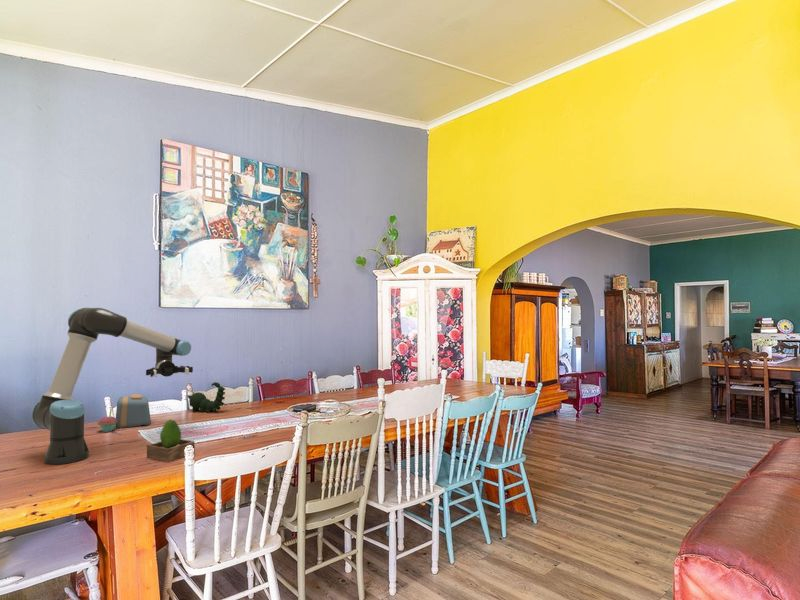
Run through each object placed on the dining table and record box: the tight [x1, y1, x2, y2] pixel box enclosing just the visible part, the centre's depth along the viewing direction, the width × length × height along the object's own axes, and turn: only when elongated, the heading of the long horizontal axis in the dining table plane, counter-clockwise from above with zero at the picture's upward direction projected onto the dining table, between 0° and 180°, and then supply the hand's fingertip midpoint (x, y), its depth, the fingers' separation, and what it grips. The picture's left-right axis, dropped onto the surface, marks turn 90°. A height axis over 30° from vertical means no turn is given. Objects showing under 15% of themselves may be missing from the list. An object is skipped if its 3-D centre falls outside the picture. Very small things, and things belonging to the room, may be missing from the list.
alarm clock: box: [115, 393, 152, 429], centre depth 265 cm, size 16×16×16 cm
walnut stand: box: [146, 438, 195, 463], centre depth 208 cm, size 13×13×5 cm
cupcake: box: [97, 407, 118, 433], centre depth 251 cm, size 9×8×12 cm
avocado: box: [159, 419, 182, 448], centre depth 208 cm, size 8×8×12 cm
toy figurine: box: [186, 381, 226, 413], centre depth 296 cm, size 9×19×25 cm
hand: (172, 372), depth 228 cm, fingers open, 13 cm apart
